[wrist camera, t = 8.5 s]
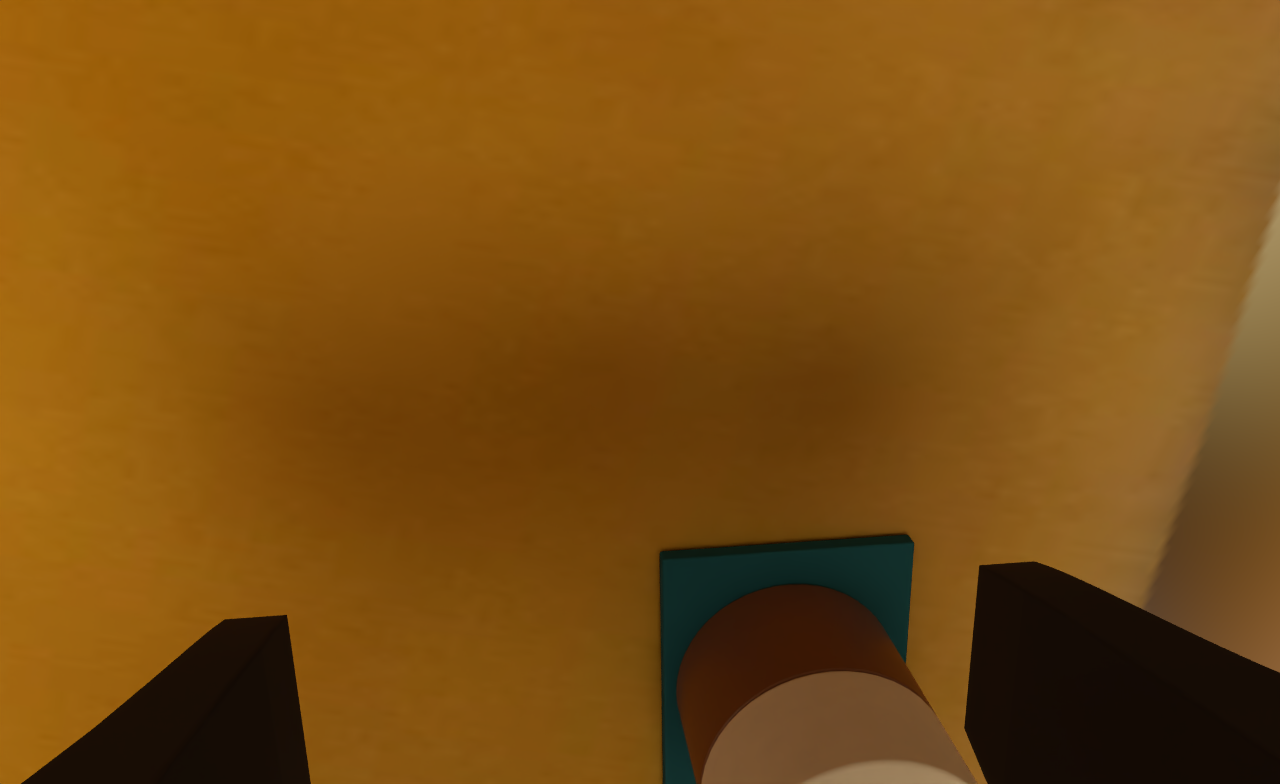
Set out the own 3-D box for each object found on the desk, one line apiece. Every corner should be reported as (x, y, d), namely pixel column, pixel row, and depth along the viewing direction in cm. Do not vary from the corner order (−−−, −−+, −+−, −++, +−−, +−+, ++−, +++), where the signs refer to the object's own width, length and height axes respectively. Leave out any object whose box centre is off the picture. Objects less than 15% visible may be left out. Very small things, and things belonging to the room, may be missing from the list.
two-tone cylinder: (887, 764, 23) (994, 979, 18) (676, 783, 23) (725, 1009, 18) (900, 574, 22) (1020, 750, 17) (674, 591, 21) (726, 776, 16)
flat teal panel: (890, 782, 24) (897, 794, 24) (663, 803, 24) (665, 816, 23) (907, 533, 22) (914, 542, 22) (658, 550, 22) (661, 560, 21)
